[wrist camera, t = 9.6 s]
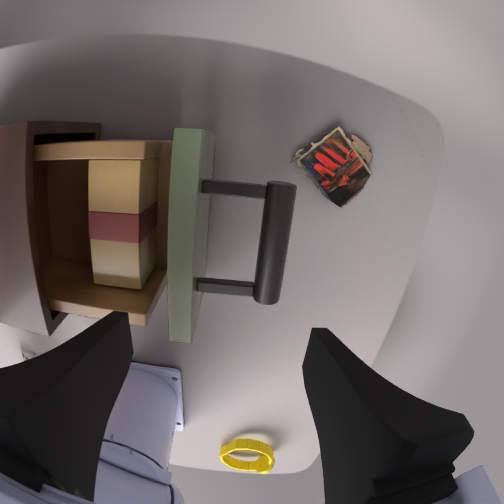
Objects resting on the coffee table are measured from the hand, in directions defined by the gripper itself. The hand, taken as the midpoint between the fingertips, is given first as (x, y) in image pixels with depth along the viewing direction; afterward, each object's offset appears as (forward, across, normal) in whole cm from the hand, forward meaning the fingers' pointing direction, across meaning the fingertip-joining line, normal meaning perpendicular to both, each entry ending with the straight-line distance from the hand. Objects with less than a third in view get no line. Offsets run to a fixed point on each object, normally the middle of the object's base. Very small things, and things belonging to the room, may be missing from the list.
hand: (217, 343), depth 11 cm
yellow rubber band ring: (+9, -1, +22) cm, 24 cm away
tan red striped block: (+8, +6, -3) cm, 11 cm away
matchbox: (+10, -7, -7) cm, 14 cm away
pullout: (+10, +5, -3) cm, 11 cm away
